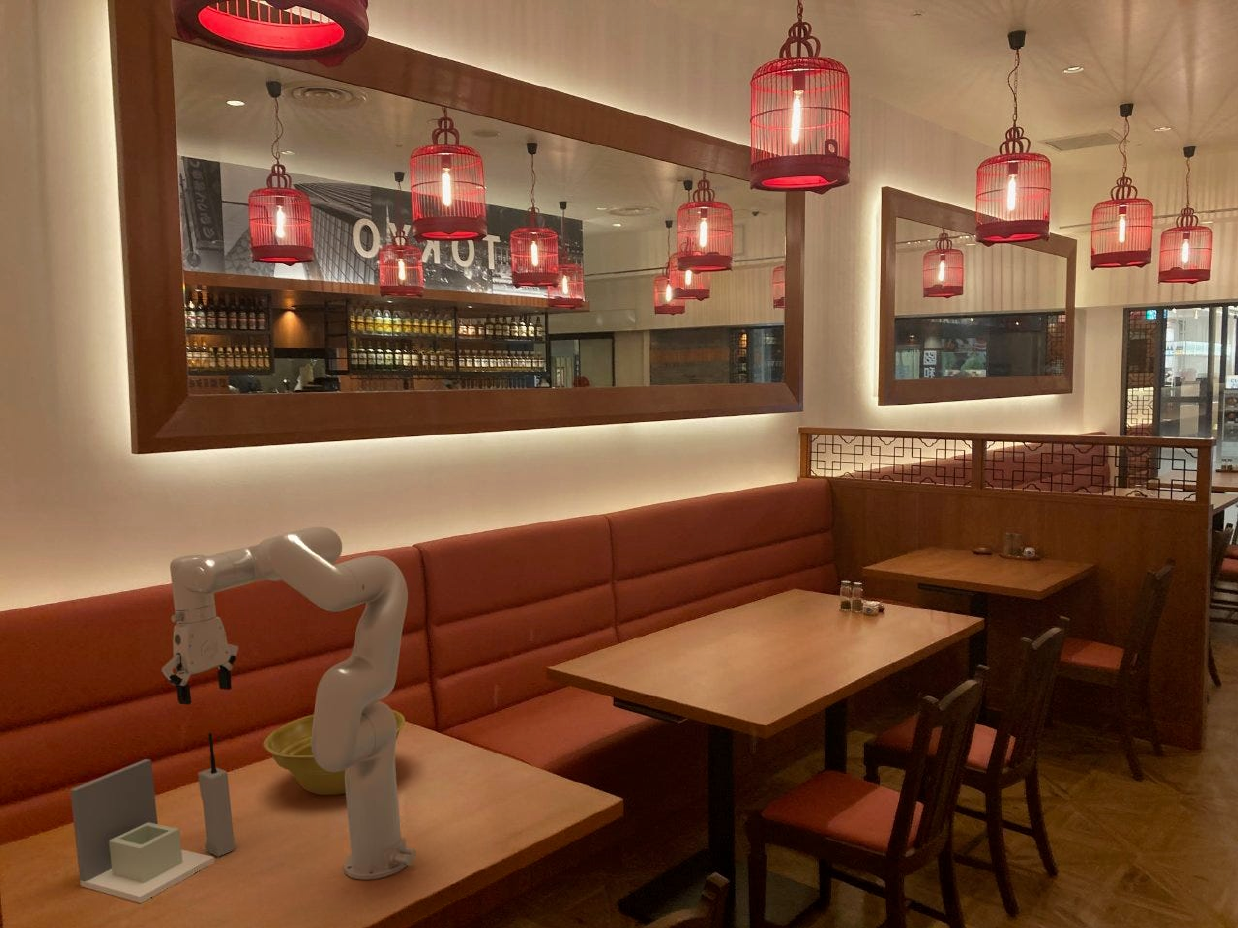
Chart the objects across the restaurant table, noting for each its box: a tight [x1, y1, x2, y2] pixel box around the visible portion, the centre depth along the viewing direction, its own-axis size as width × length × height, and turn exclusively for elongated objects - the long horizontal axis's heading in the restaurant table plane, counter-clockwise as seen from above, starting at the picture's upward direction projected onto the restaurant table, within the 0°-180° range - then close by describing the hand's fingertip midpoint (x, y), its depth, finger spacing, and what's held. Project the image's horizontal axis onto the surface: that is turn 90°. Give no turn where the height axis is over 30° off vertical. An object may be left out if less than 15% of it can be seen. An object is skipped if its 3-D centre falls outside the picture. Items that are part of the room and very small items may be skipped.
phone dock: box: [69, 758, 215, 904], centre depth 182 cm, size 18×16×19 cm
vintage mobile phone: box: [197, 732, 236, 858], centre depth 190 cm, size 4×5×25 cm
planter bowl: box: [263, 709, 406, 796], centre depth 222 cm, size 32×32×13 cm
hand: (205, 696), depth 193 cm, fingers open, 9 cm apart
